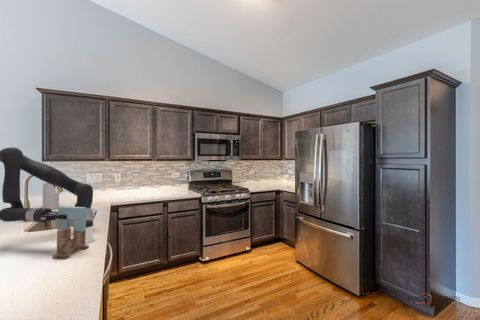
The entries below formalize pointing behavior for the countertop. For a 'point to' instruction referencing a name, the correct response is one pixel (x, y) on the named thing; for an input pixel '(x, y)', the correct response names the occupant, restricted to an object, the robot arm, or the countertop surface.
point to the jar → (89, 231)
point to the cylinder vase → (50, 197)
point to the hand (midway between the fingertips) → (68, 216)
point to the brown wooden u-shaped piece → (69, 243)
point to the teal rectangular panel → (72, 217)
